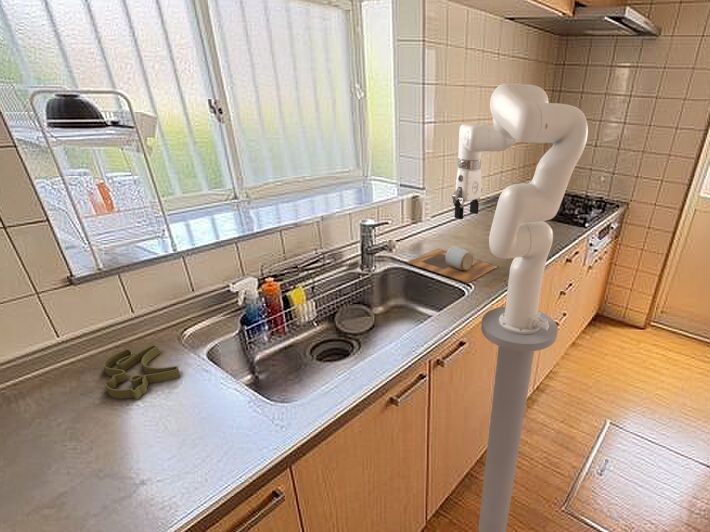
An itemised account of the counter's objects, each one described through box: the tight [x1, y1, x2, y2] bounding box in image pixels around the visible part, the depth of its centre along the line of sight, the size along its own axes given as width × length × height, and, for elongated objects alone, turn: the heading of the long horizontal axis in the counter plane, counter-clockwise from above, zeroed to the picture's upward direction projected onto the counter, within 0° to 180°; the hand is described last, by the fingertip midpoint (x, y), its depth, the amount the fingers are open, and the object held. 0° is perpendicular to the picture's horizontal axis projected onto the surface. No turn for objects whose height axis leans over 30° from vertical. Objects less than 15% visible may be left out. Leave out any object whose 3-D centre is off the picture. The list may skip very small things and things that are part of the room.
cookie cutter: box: [102, 344, 181, 400], centre depth 90 cm, size 18×12×2 cm, turn 50°
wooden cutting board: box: [406, 248, 498, 284], centre depth 158 cm, size 28×20×1 cm
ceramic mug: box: [446, 245, 474, 271], centre depth 154 cm, size 11×8×8 cm
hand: (466, 215), depth 146 cm, fingers open, 9 cm apart
